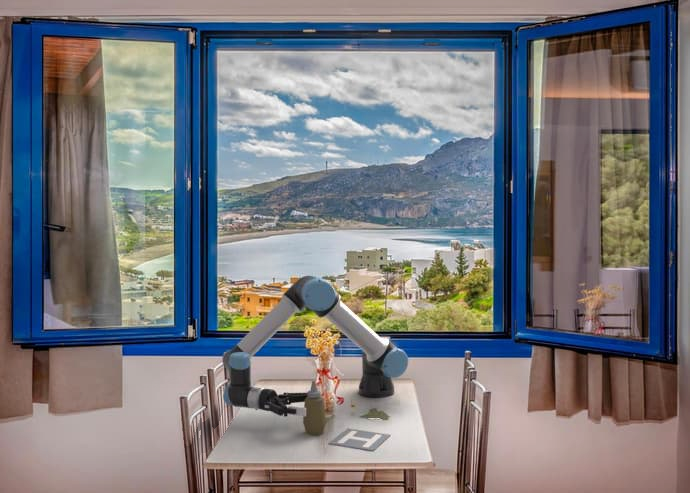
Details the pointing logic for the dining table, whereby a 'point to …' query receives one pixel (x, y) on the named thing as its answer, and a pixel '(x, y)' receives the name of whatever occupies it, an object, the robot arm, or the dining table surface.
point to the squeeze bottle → (314, 412)
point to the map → (376, 414)
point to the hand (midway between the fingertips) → (315, 406)
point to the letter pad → (359, 439)
